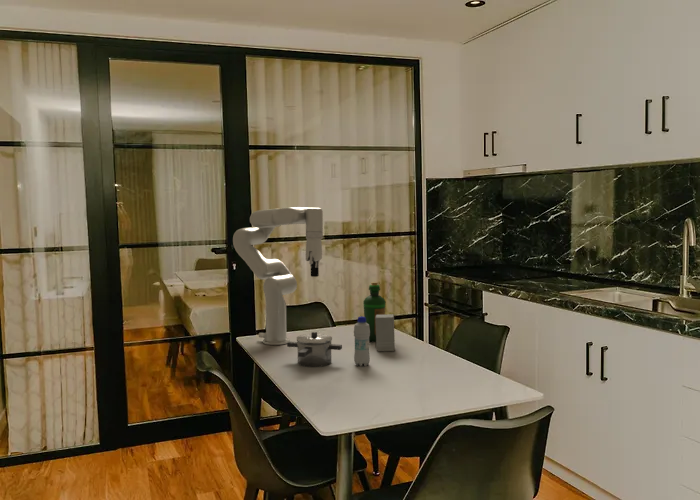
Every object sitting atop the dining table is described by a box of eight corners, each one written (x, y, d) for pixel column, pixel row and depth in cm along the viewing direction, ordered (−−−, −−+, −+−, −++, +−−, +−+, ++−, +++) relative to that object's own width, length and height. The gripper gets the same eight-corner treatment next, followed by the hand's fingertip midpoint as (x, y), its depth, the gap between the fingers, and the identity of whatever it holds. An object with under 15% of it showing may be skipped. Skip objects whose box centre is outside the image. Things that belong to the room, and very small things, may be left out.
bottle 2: (386, 342, 288) (386, 283, 285) (363, 342, 288) (363, 283, 286) (385, 337, 298) (385, 280, 296) (363, 337, 298) (363, 280, 296)
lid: (291, 342, 247) (291, 335, 246) (303, 335, 261) (303, 328, 261) (325, 344, 243) (325, 337, 243) (336, 336, 257) (336, 329, 257)
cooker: (273, 370, 240) (273, 347, 239) (295, 355, 263) (295, 334, 263) (329, 374, 234) (329, 351, 233) (346, 359, 257) (346, 337, 257)
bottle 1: (368, 367, 244) (368, 318, 243) (352, 366, 246) (352, 317, 244) (371, 363, 251) (371, 315, 249) (355, 362, 252) (355, 314, 251)
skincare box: (394, 348, 276) (394, 313, 275) (394, 352, 269) (394, 316, 268) (376, 348, 277) (376, 313, 276) (375, 351, 270) (375, 316, 269)
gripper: (311, 234, 280) (312, 274, 281) (300, 236, 265) (301, 278, 267) (327, 234, 278) (327, 274, 279) (317, 236, 263) (317, 278, 265)
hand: (314, 276), depth 273 cm, fingers closed
